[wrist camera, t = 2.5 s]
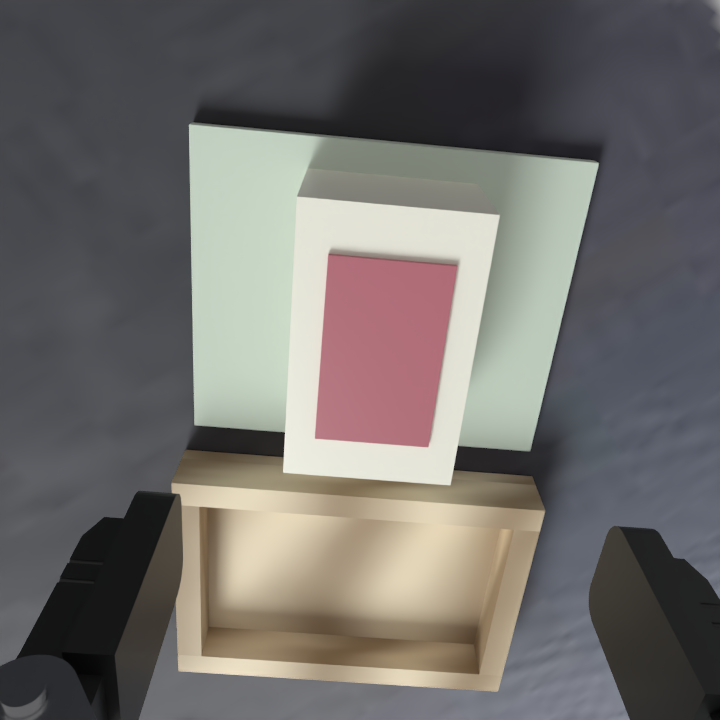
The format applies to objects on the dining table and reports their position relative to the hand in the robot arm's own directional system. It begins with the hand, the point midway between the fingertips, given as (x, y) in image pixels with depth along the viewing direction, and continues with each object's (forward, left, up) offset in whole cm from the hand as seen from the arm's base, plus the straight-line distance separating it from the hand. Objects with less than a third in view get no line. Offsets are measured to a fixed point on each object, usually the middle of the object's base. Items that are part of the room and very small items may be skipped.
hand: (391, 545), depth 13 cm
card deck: (0, 0, -12) cm, 12 cm away
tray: (0, +12, -13) cm, 18 cm away
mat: (0, 0, -13) cm, 13 cm away
